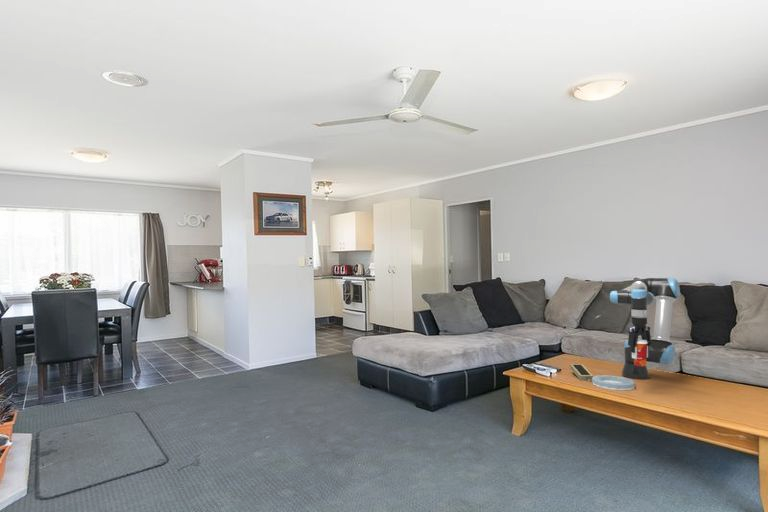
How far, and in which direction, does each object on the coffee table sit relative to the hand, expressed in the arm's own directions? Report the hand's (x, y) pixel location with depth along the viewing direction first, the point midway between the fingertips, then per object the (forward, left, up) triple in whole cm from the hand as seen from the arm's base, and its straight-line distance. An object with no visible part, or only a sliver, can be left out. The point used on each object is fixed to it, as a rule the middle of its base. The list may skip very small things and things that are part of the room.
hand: (639, 357), depth 245 cm
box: (+9, -35, -19) cm, 40 cm away
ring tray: (+5, -14, -19) cm, 24 cm away
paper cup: (0, 0, -4) cm, 4 cm away
